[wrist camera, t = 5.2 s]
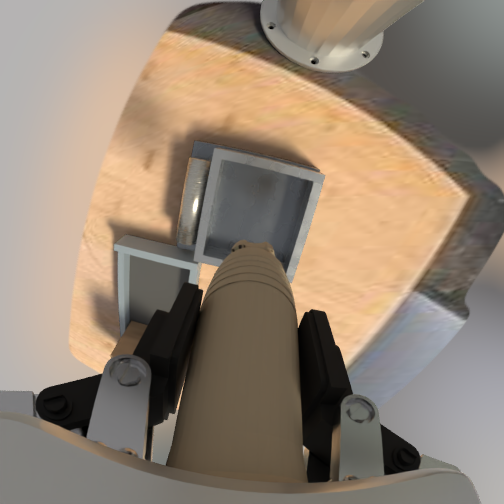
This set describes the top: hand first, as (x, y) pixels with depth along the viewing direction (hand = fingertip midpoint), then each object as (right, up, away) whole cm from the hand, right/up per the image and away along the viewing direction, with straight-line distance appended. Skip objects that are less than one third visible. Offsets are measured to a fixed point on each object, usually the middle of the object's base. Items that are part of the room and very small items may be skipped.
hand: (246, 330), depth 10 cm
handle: (0, +3, +6) cm, 6 cm away
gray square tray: (0, +8, +17) cm, 19 cm away
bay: (-12, -5, +23) cm, 27 cm away
